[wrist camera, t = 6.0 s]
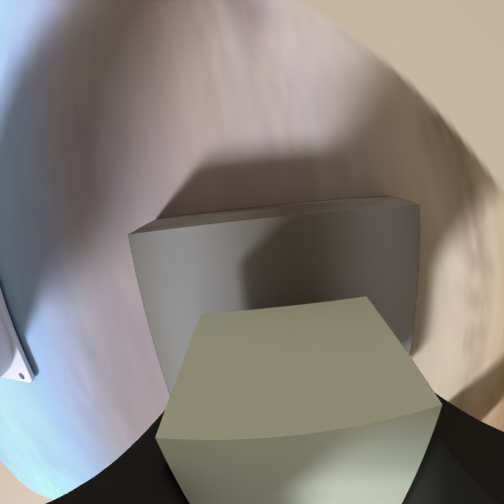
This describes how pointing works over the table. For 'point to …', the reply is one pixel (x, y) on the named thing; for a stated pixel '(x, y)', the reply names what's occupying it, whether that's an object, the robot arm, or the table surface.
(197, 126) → the table surface
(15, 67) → the table surface
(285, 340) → the sage block
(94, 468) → the table surface
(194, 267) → the gray plinth
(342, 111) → the table surface
